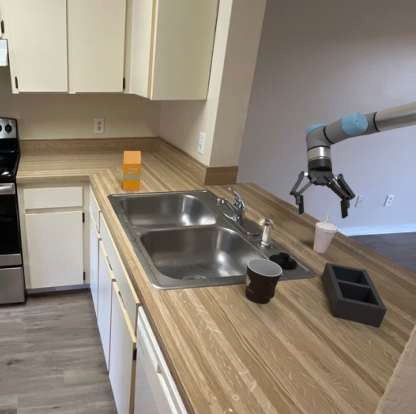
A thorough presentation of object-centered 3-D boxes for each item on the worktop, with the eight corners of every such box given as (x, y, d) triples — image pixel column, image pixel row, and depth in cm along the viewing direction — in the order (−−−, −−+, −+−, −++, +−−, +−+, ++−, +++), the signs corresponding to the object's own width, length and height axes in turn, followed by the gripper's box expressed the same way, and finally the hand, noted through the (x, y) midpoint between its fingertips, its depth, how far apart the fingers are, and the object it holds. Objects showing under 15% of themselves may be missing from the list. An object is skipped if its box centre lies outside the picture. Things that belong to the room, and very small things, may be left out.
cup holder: (360, 285, 98) (366, 270, 96) (379, 327, 83) (386, 309, 80) (321, 277, 102) (326, 262, 100) (332, 316, 86) (338, 299, 84)
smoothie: (312, 244, 121) (323, 209, 115) (333, 251, 116) (344, 214, 111) (305, 249, 117) (316, 214, 112) (326, 257, 113) (338, 220, 107)
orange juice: (122, 185, 181) (123, 149, 173) (138, 185, 181) (140, 149, 173) (123, 190, 174) (124, 152, 166) (139, 190, 173) (141, 152, 165)
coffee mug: (243, 283, 99) (249, 255, 95) (275, 293, 95) (283, 263, 91) (236, 306, 90) (243, 275, 86) (271, 317, 86) (280, 286, 82)
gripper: (352, 169, 124) (357, 222, 117) (279, 165, 130) (280, 215, 123) (363, 159, 118) (369, 214, 110) (286, 155, 123) (287, 207, 116)
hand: (322, 215), depth 116 cm, fingers open, 13 cm apart
